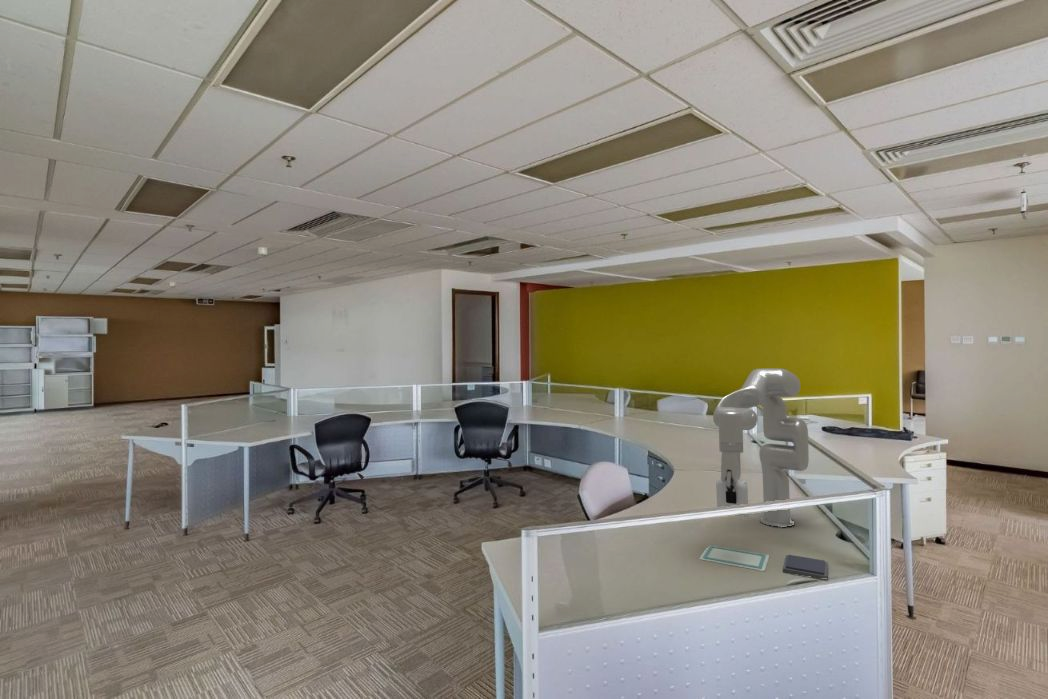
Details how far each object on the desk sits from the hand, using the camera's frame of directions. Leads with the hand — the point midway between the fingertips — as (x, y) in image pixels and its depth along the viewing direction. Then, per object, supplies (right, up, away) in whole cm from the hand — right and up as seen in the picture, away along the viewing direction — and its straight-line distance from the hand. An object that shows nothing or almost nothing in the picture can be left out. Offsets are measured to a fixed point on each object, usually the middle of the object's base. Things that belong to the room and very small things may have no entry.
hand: (732, 500), depth 171 cm
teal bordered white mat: (+1, -19, 0) cm, 19 cm away
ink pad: (+19, -19, -10) cm, 29 cm away
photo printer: (0, -5, 0) cm, 5 cm away
